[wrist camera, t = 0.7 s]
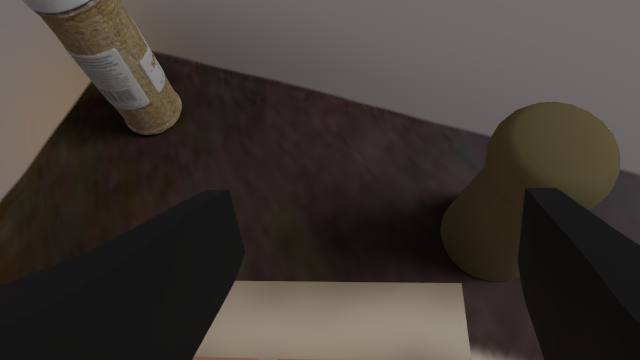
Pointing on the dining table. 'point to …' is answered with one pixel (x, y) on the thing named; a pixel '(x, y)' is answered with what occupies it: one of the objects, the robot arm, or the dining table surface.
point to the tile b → (222, 358)
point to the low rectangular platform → (340, 322)
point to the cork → (527, 183)
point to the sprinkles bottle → (114, 59)
